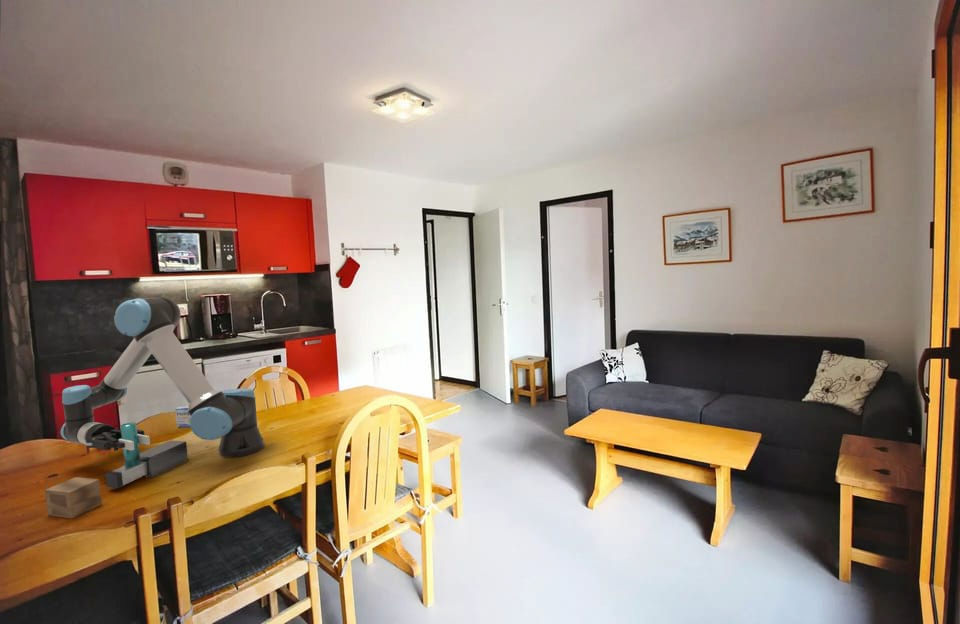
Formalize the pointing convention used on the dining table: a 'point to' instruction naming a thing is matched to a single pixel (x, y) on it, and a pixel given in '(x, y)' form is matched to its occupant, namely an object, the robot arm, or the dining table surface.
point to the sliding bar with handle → (128, 461)
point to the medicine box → (182, 416)
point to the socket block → (73, 497)
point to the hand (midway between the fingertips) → (140, 443)
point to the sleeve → (164, 456)
